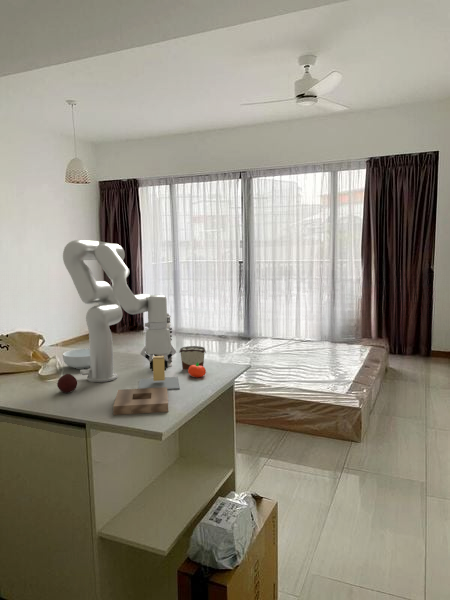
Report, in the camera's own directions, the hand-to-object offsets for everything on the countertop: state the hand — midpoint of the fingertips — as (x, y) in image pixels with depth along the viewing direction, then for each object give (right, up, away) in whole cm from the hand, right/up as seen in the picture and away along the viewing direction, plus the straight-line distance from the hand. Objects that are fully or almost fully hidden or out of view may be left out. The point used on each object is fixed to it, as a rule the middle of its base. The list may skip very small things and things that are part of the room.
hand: (158, 369), depth 178 cm
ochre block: (0, -4, 0) cm, 4 cm away
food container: (+12, -4, +26) cm, 29 cm away
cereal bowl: (-41, -4, +30) cm, 51 cm away
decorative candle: (-3, -3, +32) cm, 33 cm away
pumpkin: (+14, -5, +12) cm, 19 cm away
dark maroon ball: (-34, -8, -8) cm, 36 cm away
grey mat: (0, -6, +1) cm, 6 cm away
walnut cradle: (-3, -9, -23) cm, 25 cm away
